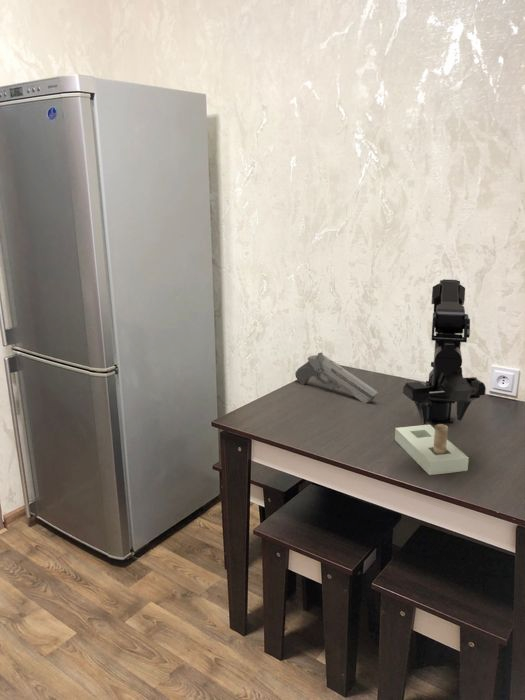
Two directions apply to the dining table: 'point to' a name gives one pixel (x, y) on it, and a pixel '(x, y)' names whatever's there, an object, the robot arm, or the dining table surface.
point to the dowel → (440, 439)
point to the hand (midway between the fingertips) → (441, 422)
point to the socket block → (430, 450)
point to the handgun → (334, 377)
